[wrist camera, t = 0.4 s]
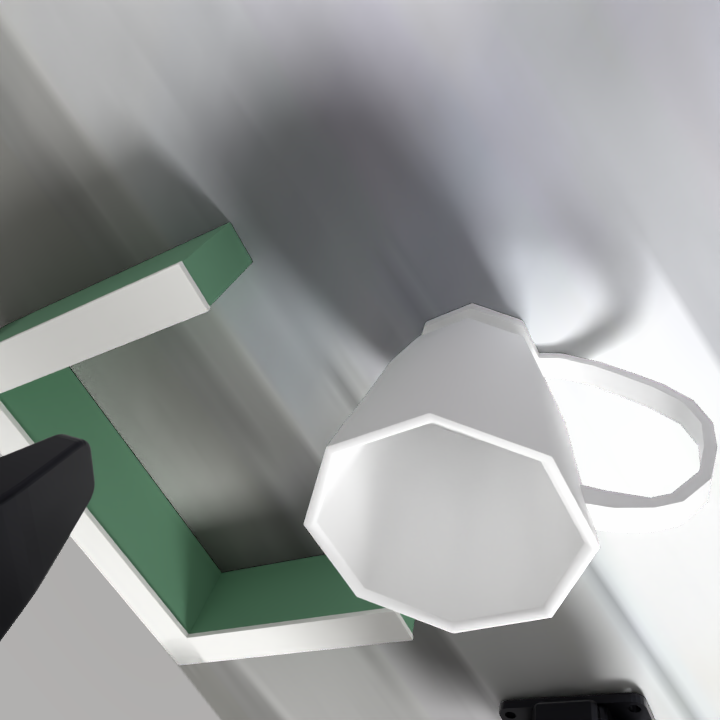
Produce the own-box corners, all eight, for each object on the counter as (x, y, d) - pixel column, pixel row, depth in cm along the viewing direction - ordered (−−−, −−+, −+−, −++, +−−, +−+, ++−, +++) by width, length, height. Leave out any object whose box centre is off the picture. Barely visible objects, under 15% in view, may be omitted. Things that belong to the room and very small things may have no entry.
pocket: (428, 565, 28) (412, 640, 25) (213, 599, 33) (178, 665, 30) (230, 220, 22) (178, 263, 19) (3, 324, 27) (-67, 372, 24)
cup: (360, 268, 22) (273, 410, 15) (701, 256, 19) (780, 424, 12) (386, 442, 25) (325, 620, 18) (678, 453, 22) (729, 668, 16)
